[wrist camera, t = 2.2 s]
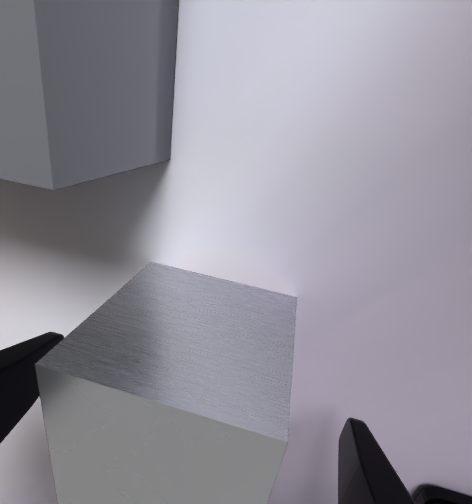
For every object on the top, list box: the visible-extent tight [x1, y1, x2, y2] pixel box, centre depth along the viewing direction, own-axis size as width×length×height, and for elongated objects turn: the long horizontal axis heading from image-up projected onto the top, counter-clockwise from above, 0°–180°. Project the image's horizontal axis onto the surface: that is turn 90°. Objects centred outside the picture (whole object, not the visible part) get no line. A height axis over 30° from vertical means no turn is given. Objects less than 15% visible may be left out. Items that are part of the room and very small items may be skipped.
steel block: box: [35, 262, 297, 504], centre depth 9 cm, size 5×5×5 cm
